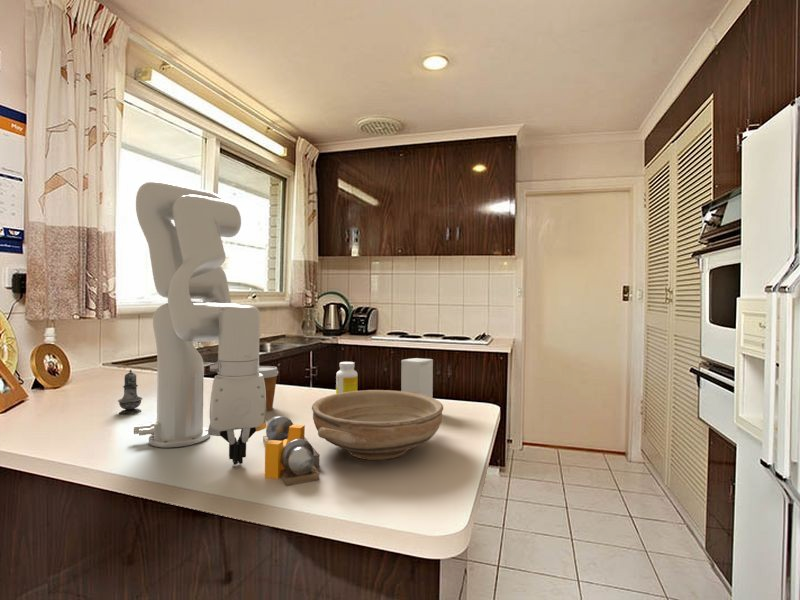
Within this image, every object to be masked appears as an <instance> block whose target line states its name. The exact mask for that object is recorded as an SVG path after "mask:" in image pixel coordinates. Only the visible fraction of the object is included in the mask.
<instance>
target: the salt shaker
mask: <svg viewBox="0 0 800 600" xmlns="http://www.w3.org/2000/svg"><path fill="white" fill-rule="evenodd" d="M138 386H139V385H138V384H137V374H136V373H135V372H133V370H131V369H130V370H129V372H128V373H126V374H125V375H124V384H123V386H122V388H123V396H122V398H120V399H118V400H117V402H118V405H119V407H120V408H121V409H122V410H121V411H119V414H118V415H122V416H125V415H135V414H138V413H141V412H142V410H141V409H140V408H138V407H139V406H140V405H141V403H142V400H143V397H142V396H138V393H137V392H138V391H137V389H138V388H137V387H138Z"/></svg>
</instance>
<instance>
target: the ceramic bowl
mask: <svg viewBox="0 0 800 600" xmlns="http://www.w3.org/2000/svg"><path fill="white" fill-rule="evenodd" d="M311 410H312V419H313V423H314V426H315V428H316V431H317V435H318V438H319V437H320V438H321V439H324V440H325V441H327V442H328V443H329V444H332V445H334V446H336V447H338V448H341V449H344V450H347V451H348V453H349V454H350V455H351V456H352V457H356V458H359V459H362V460H363V459H364V460H367V461H368V460H369V461H384V460H385V461H386V460H391V459H392V460H393V459H396V458H399V457H401V456H403V455H404V454H406V453H407V451H408V450H411V449H413V448H416V447H418V446H420V445H423V444H424V443H426V442H427V441H429V440H430V439H431V438H432V437H434V435H435V434H436V433H437V432H438V430H439V428H440V425H441V423H442V419H443V411H444V405H443V403H441V402H440V401H439V400H437V399H436V398H435V397H434V398H431V397H428V396H425V395H421V394H419V393H417V392H403V391H401V390H390V389H387V390H386V389H385V390H384V389H367V390H366V389H365V390H357V391H351V392H344V393H338V394H336V393H333V394H330V395H327V396H324V397H321V398H318V400H316V401H315V402H314V403H313V404H312V406H311Z"/></svg>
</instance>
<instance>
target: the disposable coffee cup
mask: <svg viewBox="0 0 800 600" xmlns="http://www.w3.org/2000/svg"><path fill="white" fill-rule="evenodd" d="M259 373H261V374H263V377H264V382H265V391H266V412H268V411H272V409H273V407H274V402H275V401H274V400H275V393H276V385H277V379H278V377H277V376H278V375H279V373H280V372H279V371H278V367H277V366H271V365H259Z"/></svg>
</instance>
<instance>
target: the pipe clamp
mask: <svg viewBox="0 0 800 600" xmlns="http://www.w3.org/2000/svg"><path fill="white" fill-rule="evenodd" d="M305 427H306V426H305V424H294V423H293V425H292V426H290V427H289V434H288V439H285V440H283V441H278V440H269V441H268V442H266V443H265V444H264V479H265V478H267V479H275V480H279V478H282V477H281V470H282V469H285V467H284V466H283V464H282V462H281V453H282V450H283V448H284V447H285V445H286V444H287V443H289V442H290V441H292V440H295V439H304V437H305ZM305 438H306V437H305Z"/></svg>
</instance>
